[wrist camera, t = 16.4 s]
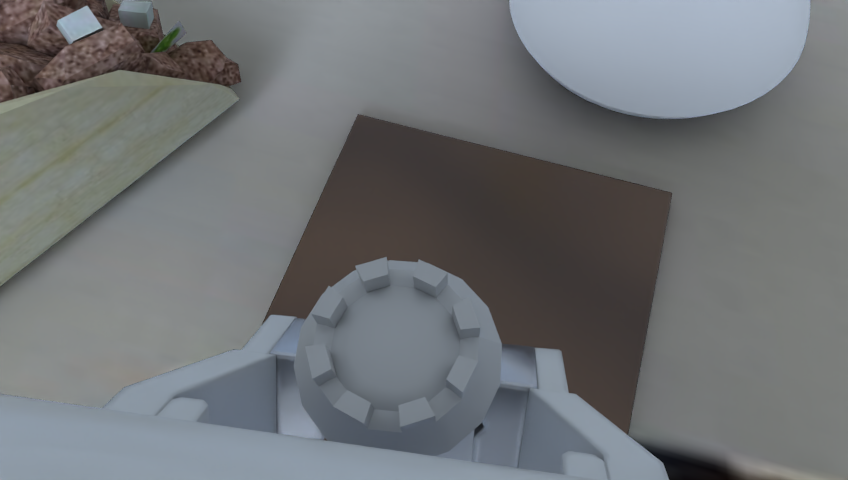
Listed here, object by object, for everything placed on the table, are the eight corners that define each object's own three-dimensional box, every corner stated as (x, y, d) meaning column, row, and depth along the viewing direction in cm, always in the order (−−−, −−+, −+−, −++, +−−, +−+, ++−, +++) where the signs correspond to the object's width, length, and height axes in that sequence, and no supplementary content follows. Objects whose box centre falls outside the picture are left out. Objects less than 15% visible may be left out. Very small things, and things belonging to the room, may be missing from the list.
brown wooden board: (513, 1035, 14) (515, 1047, 13) (47, 806, 16) (38, 812, 15) (668, 198, 23) (672, 192, 22) (359, 119, 25) (357, 113, 24)
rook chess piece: (491, 336, 17) (522, 186, 10) (518, 513, 15) (580, 485, 8) (328, 354, 17) (242, 216, 10) (335, 534, 15) (231, 524, 8)
